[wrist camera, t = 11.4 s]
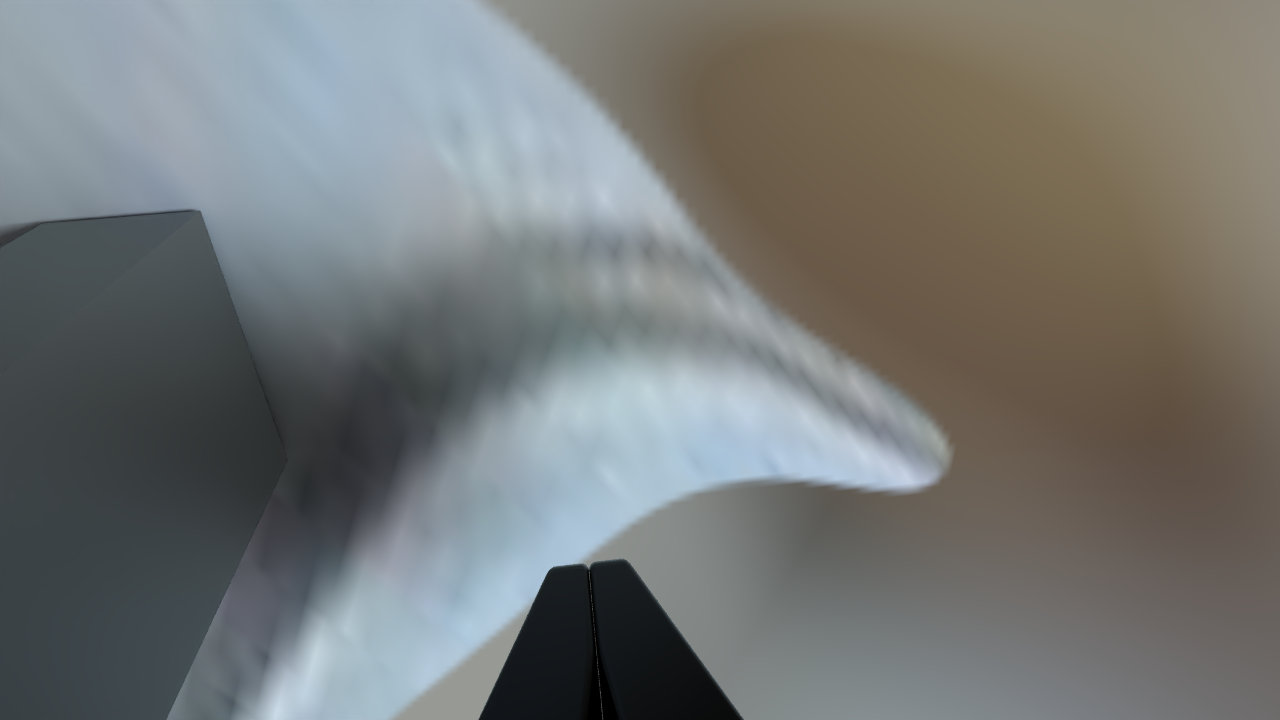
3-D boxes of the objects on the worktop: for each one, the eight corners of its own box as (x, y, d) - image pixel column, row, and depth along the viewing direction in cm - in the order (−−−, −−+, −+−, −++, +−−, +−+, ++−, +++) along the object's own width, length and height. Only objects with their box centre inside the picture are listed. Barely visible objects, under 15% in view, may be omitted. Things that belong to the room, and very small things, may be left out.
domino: (200, 210, 12) (-409, 713, 4) (287, 460, 15) (4, 1065, 7) (41, 223, 12) (-902, 774, 4) (157, 474, 14) (-289, 1114, 7)
